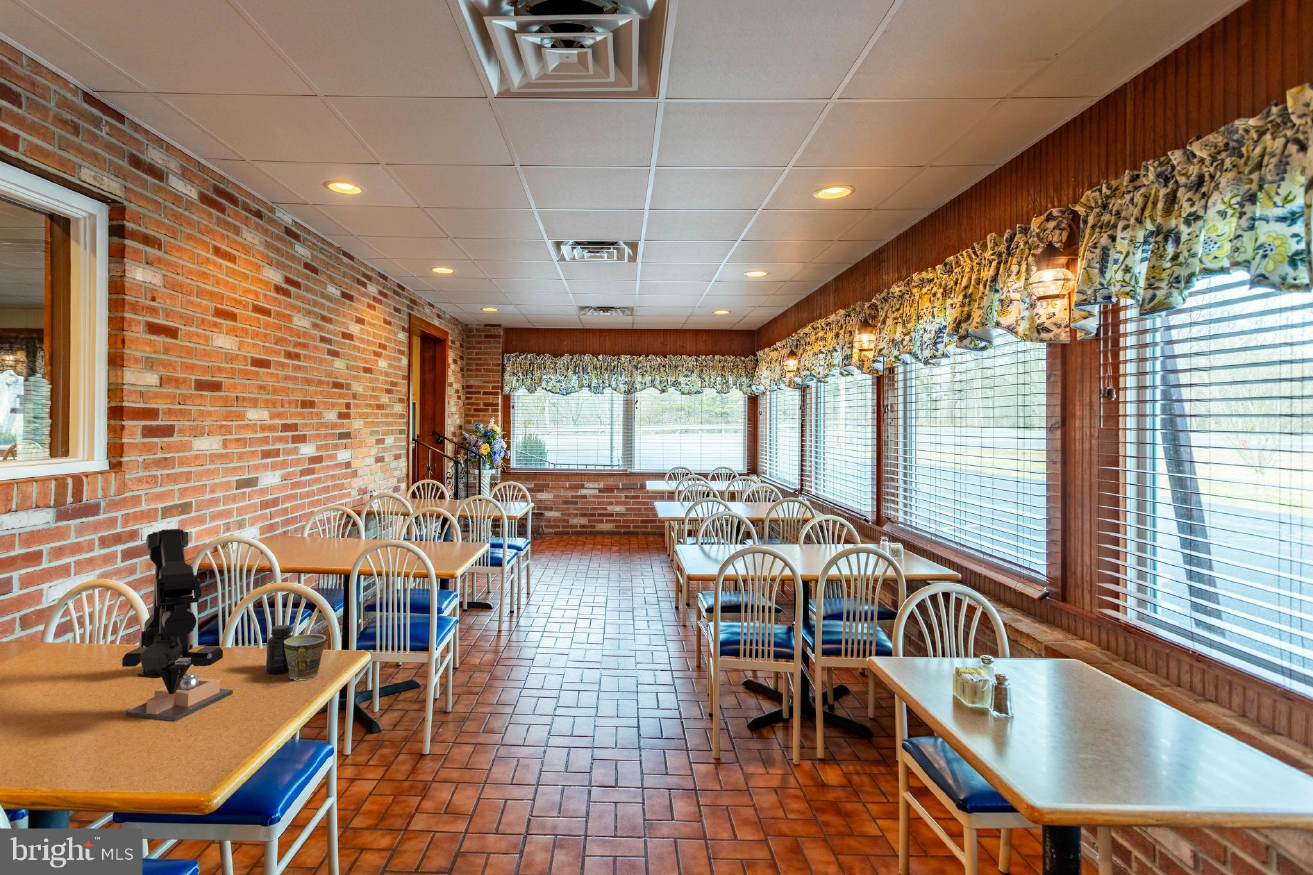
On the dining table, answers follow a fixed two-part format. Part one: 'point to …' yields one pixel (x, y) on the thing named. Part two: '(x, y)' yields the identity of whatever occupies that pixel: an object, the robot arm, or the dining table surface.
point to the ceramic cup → (304, 655)
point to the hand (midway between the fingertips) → (172, 693)
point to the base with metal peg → (180, 711)
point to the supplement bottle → (277, 649)
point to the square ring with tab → (182, 696)
